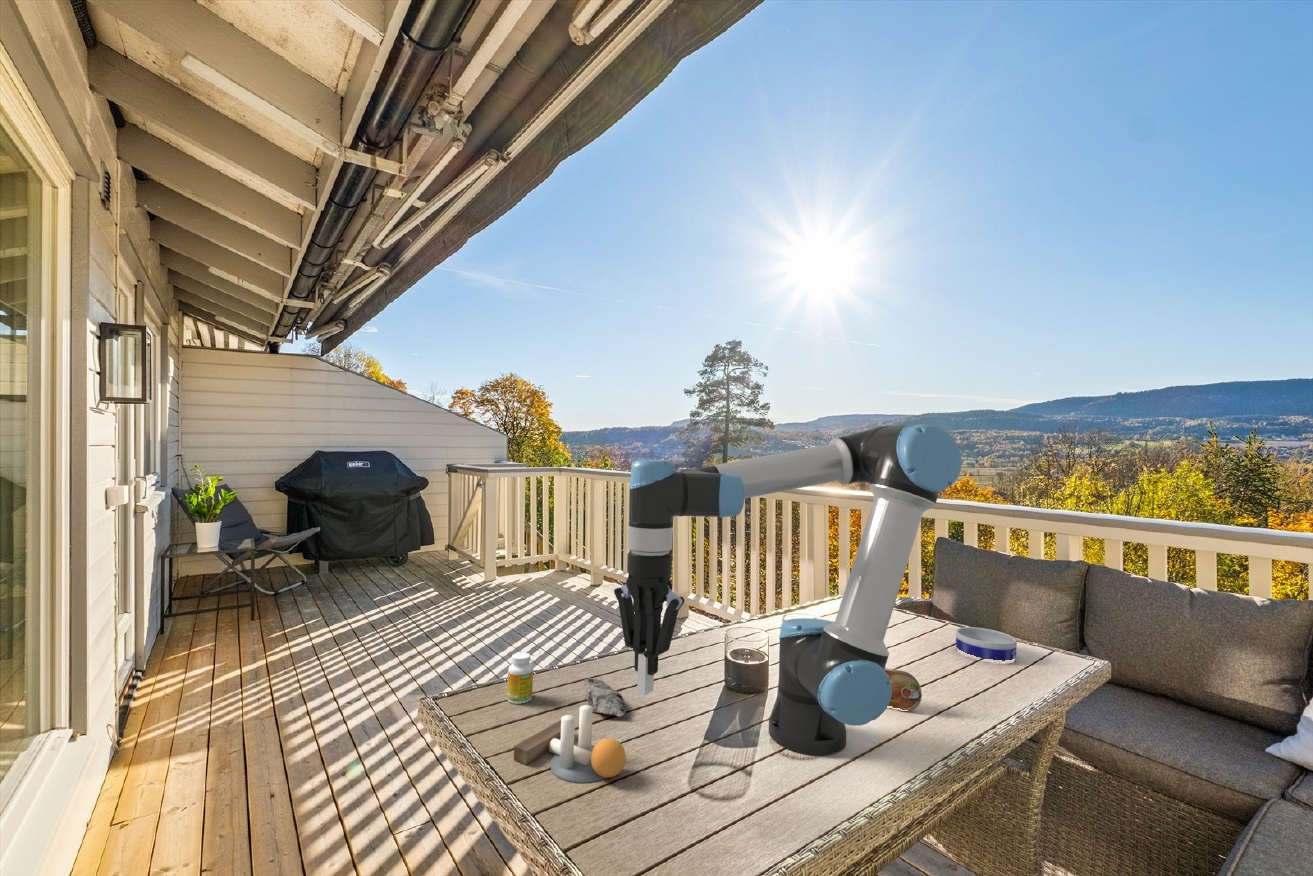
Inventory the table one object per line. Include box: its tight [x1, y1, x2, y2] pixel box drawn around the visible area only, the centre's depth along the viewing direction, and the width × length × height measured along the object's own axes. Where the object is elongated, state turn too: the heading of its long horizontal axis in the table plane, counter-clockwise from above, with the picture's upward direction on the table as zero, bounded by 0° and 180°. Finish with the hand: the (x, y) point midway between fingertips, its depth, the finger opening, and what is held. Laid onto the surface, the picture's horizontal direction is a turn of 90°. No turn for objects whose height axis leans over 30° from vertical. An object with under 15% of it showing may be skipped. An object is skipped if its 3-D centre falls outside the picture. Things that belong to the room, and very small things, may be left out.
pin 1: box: [560, 714, 576, 769], centre depth 103 cm, size 2×2×8 cm
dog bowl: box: [955, 626, 1018, 661], centre depth 169 cm, size 15×15×6 cm
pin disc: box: [549, 745, 607, 784], centre depth 104 cm, size 12×12×1 cm
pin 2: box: [577, 704, 594, 751], centre depth 108 cm, size 2×2×8 cm
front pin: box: [549, 738, 592, 766], centre depth 106 cm, size 2×2×8 cm
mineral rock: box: [582, 677, 627, 718], centre depth 128 cm, size 15×8×4 cm, turn 17°
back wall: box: [513, 719, 561, 766], centre depth 110 cm, size 3×13×2 cm, turn 147°
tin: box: [884, 667, 923, 712], centre depth 133 cm, size 15×3×8 cm, turn 65°
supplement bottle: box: [506, 652, 534, 705], centre depth 130 cm, size 5×5×10 cm
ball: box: [591, 737, 626, 779], centre depth 101 cm, size 6×6×6 cm
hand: (645, 692), depth 98 cm, fingers closed
